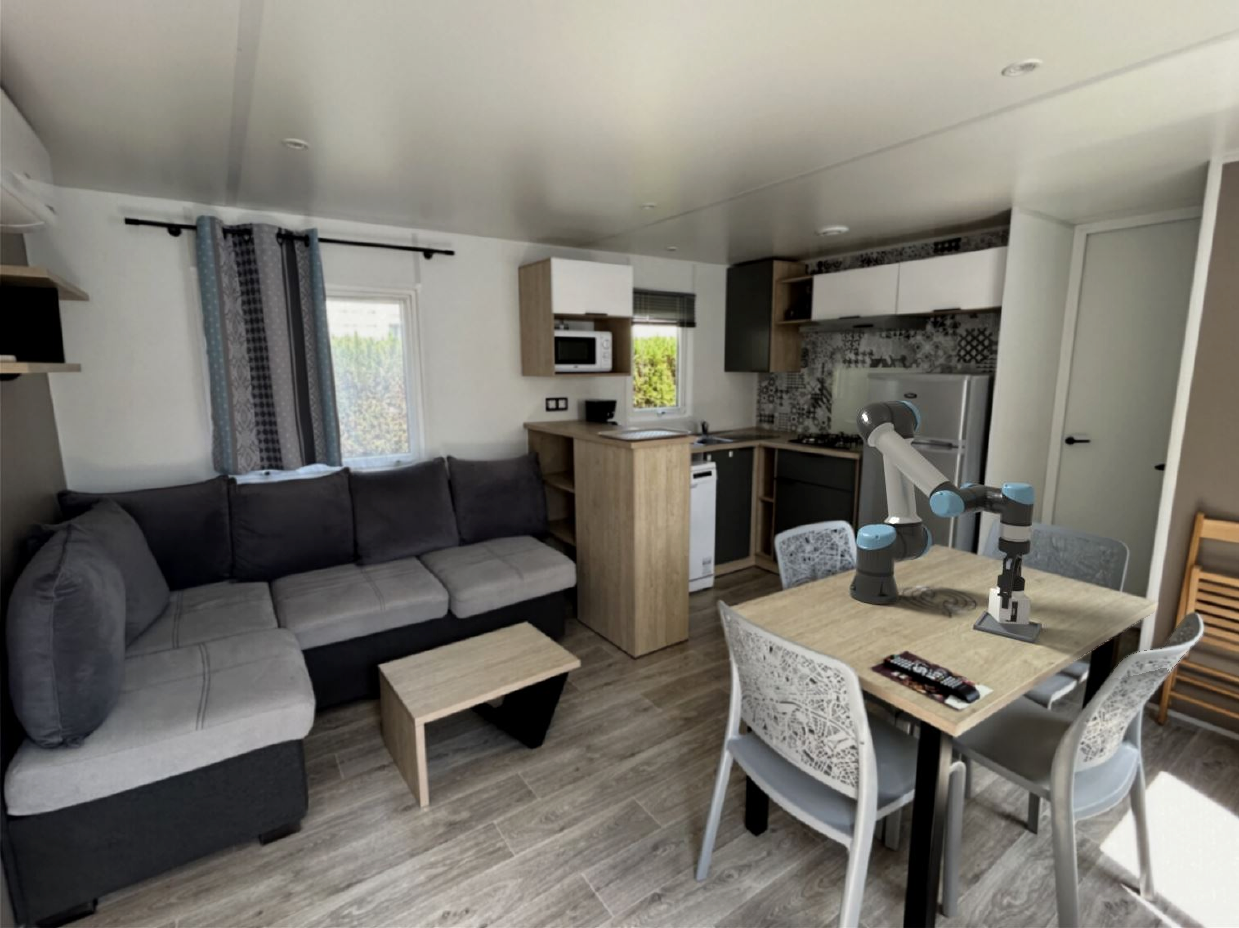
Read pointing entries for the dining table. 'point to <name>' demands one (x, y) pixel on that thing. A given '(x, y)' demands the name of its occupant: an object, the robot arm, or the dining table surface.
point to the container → (1019, 602)
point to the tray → (1008, 628)
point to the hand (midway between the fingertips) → (1008, 612)
